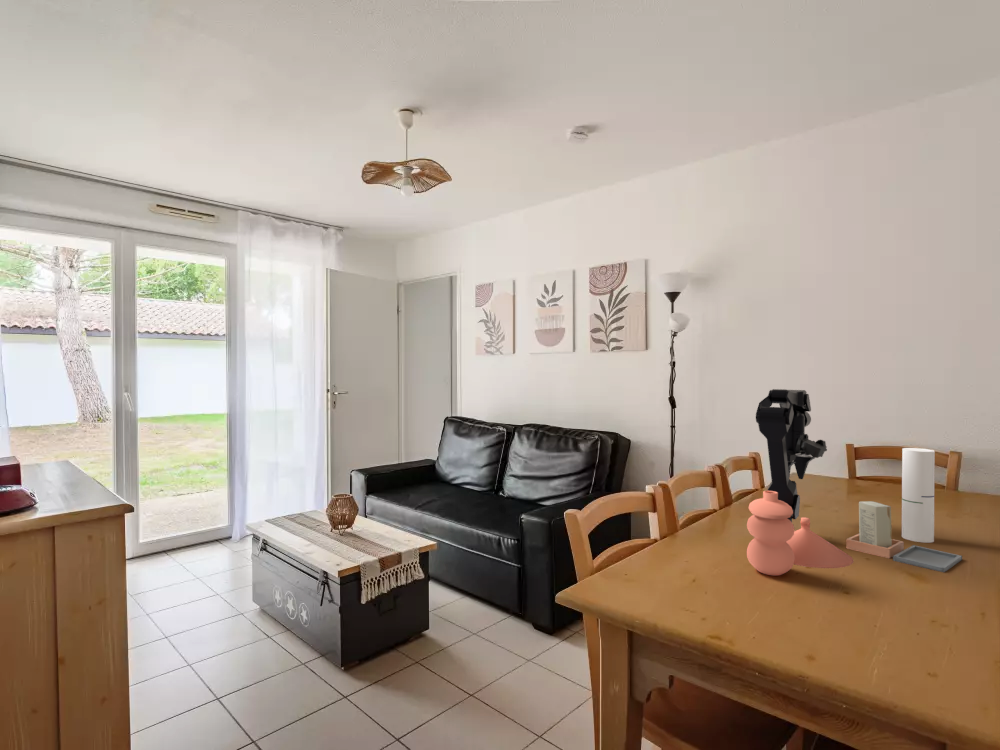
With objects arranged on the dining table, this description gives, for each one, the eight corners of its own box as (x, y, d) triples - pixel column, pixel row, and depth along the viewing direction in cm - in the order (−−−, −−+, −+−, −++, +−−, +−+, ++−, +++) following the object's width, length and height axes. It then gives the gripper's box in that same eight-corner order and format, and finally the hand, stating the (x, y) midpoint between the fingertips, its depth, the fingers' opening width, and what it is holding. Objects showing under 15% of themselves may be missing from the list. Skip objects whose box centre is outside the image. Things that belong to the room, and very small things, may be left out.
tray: (943, 573, 124) (943, 568, 124) (893, 561, 132) (893, 556, 132) (962, 561, 132) (962, 555, 132) (913, 549, 140) (913, 545, 140)
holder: (889, 559, 134) (889, 549, 134) (846, 548, 142) (846, 539, 142) (903, 551, 139) (903, 541, 139) (861, 541, 147) (861, 532, 147)
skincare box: (892, 554, 137) (893, 506, 137) (876, 554, 137) (877, 507, 137) (872, 545, 144) (873, 500, 144) (857, 546, 143) (858, 500, 143)
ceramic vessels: (781, 535, 153) (781, 469, 152) (866, 555, 136) (867, 482, 136) (716, 563, 131) (717, 487, 130) (809, 592, 114) (809, 504, 114)
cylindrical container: (939, 543, 145) (940, 452, 145) (910, 542, 147) (910, 451, 146) (924, 535, 152) (925, 448, 152) (896, 534, 154) (897, 447, 153)
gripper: (807, 435, 153) (806, 489, 153) (835, 430, 164) (835, 481, 164) (768, 431, 162) (768, 483, 162) (798, 427, 173) (797, 475, 173)
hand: (793, 480), depth 165 cm, fingers open, 9 cm apart
